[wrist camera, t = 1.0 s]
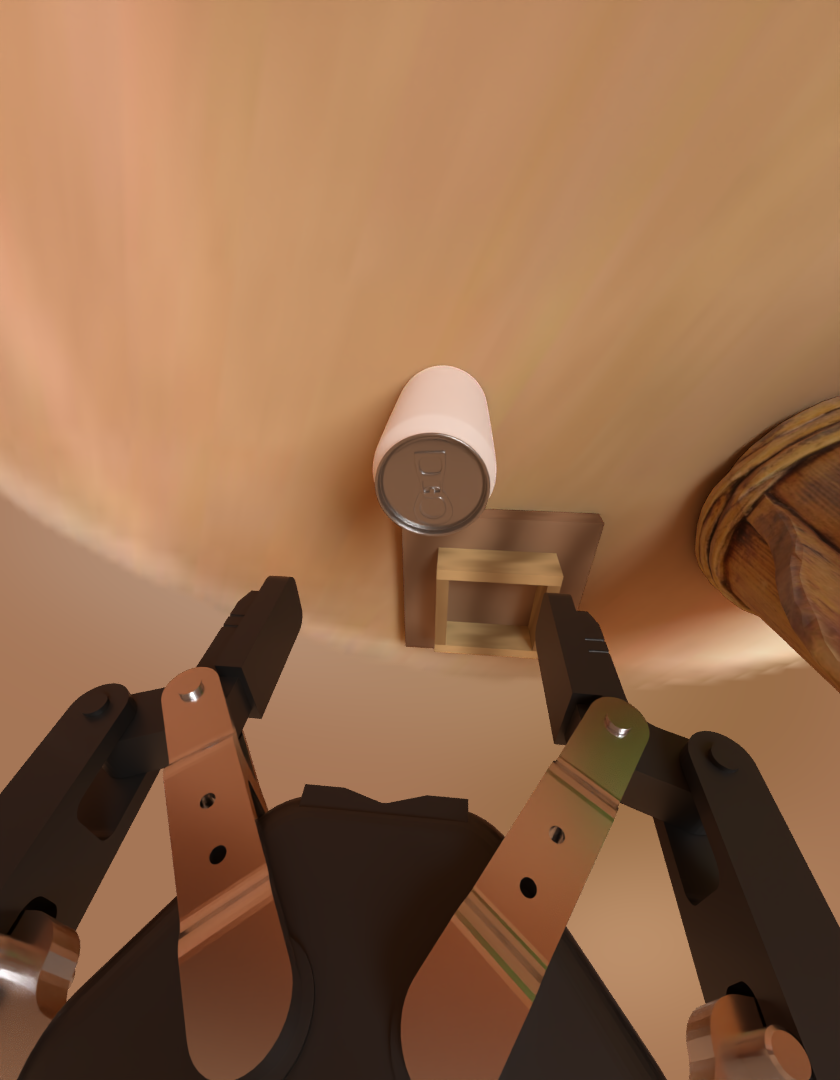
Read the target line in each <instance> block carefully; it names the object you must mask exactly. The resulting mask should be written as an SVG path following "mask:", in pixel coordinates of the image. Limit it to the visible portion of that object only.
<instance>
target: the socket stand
mask: <svg viewBox="0 0 840 1080" xmlns="http://www.w3.org/2000/svg"><path fill="white" fill-rule="evenodd" d="M603 526H604V522H603V520H602V518H601V517H600V515H599V514H592V513H569V512H546V511H523V510H499V509H484V510H483V512H482V513H481V515H480V516H479V517H478V518H477V519H476V520H475V521H474V522H473V523H472V524H471V525H469V526H468V527H466V528H465V529H463V530H461V531H459V532H456V533H453V534H450V535H445V536H423V535H418V534H415V533H412V532H409V531H407V530H405V529H403V528H402V547H403V579H404V611H405V643H406V647H421V648H435V649H434V652H445V653H459V654H474V655H489V656H503V657H518V658H532V659H538V655H537V649H536V643H535V631H536V624H537V620H538V616H539V612H540V607H541V603H542V599H543V595H544V593H546V592H547V593H564V594H570V595H571V596H572V599H573V602H574V605H575V609H576V611H578V608H579V604H580V601H581V598H582V595H583V591H584V588H585V585H586V582H587V578H588V575H589V572H590V569H591V565H592V562H593V559H594V556H595V552H596V549H597V546H598V543H599V539H600V536H601V533H602V530H603Z"/></svg>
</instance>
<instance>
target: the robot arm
mask: <svg viewBox="0 0 840 1080" xmlns="http://www.w3.org/2000/svg"><path fill="white" fill-rule="evenodd" d="M301 624H302V608H301V604H300V599H299V595H298V591H297V586H296V582H295V579H294V578H293V577H282V576H269V577H268V578H267V579H266V580H265V582H264V584H263V585H262V587H261V589H260V590H259V591H251V592H250V593H248V594H247V595H246V596H245V597H243V598H242V599H241V600H240V601H238V603H237V604H236V606H235V608H234V609H233V611H232V612H231V614H230V617H228V618H227V620H226V622H225V623H224V627H222V628H221V630H220V631H219V632H218V634H217V636H216V637H215V639H214V640H213V642H212V643H211V645H210V647H209V648H208V650H207V651H206V653H205V654H204V656H203V658H202V659H201V661H200V662H199V664H198V665H197V667H196V668H192V669H189V670H186V671H184V672H182V673H180V674H179V675H177V676H176V677H175V678H173V679H172V680H171V681H170V682H169V683H168V684H167V686H166V687H165V688H161V689H155V690H151V691H146V692H141V693H136V694H132V695H131V694H130V693H129V691H128V690H127V688H126V687H125V686H123V685H121V684H105V685H102V686H99V687H96V688H94V689H92V690H90V691H88V692H86V693H85V694H83V695H82V696H80V697H79V698H78V699H77V700H76V701H75V702H74V703H73V704H72V705H71V706H70V707H69V708H68V710H67V711H66V712H65V713H64V715H63V716H62V717H61V719H60V720H59V721H58V722H57V723H56V725H55V726H54V727H53V728H52V730H51V731H50V732H49V734H48V735H47V736H46V737H45V738H44V740H43V741H42V742H41V744H40V745H39V746H38V747H37V748H36V750H35V751H34V752H33V753H32V755H31V756H30V757H29V759H28V760H27V761H26V762H25V763H24V765H23V766H22V767H21V769H20V770H19V771H18V772H17V774H16V775H15V776H14V778H13V779H12V780H11V781H10V782H9V784H8V785H7V786H6V787H5V789H4V790H3V791H2V792H1V794H0V1080H667V1079H666V1078H665V1076H664V1074H663V1072H662V1071H661V1069H660V1068H659V1066H658V1064H657V1063H656V1061H655V1060H654V1058H653V1057H652V1055H651V1053H650V1052H649V1050H648V1049H647V1048H646V1046H645V1045H644V1043H643V1042H642V1040H641V1039H640V1037H639V1035H638V1034H637V1032H636V1031H635V1029H634V1028H633V1026H632V1025H631V1023H630V1022H629V1020H628V1019H627V1017H626V1016H625V1014H624V1013H623V1011H622V1010H621V1008H620V1007H619V1006H618V1004H617V1002H616V1001H615V999H614V998H613V996H612V995H611V993H610V992H609V990H608V989H607V987H606V986H605V984H604V983H603V981H602V980H601V978H600V977H599V975H598V974H597V972H596V971H595V969H594V968H593V966H592V965H591V963H590V962H589V960H588V959H587V957H586V956H585V954H584V953H583V951H582V950H581V948H580V947H579V945H578V944H577V942H576V941H575V939H574V938H573V936H572V934H571V933H570V931H569V930H568V929H567V927H566V925H567V922H568V920H569V918H570V916H571V914H572V912H573V909H574V907H575V905H576V903H577V900H578V898H579V896H580V894H581V892H582V889H583V887H584V885H585V883H586V881H587V878H588V876H589V874H590V872H591V869H592V867H593V865H594V863H595V860H596V859H597V856H598V854H599V852H600V849H601V848H602V845H603V843H604V841H605V839H606V837H607V834H608V832H609V830H610V828H611V826H612V823H613V821H614V819H615V816H616V814H617V811H618V805H619V803H622V804H624V805H627V806H629V807H631V808H634V809H636V810H638V811H640V812H643V813H645V814H647V815H650V816H652V817H653V819H654V823H655V827H656V830H657V833H658V837H659V840H660V844H661V848H662V851H663V855H664V858H665V862H666V865H667V869H668V872H669V876H670V879H671V883H672V886H673V890H674V894H675V897H676V901H677V904H678V908H679V911H680V915H681V918H682V922H683V925H684V929H685V932H686V936H687V940H688V943H689V947H690V950H691V954H692V957H693V961H694V964H695V968H696V971H697V975H698V979H699V982H700V985H701V989H702V992H703V996H704V1000H705V1003H706V1004H704V1005H702V1006H700V1007H698V1008H696V1009H695V1010H694V1011H693V1012H692V1014H691V1016H690V1018H689V1020H688V1023H687V1030H686V1042H687V1049H688V1055H689V1065H690V1075H689V1080H840V927H839V925H838V924H837V922H836V920H835V918H834V916H833V914H832V912H831V910H830V908H829V906H828V904H827V902H826V900H825V898H824V896H823V894H822V892H821V891H820V889H819V886H818V885H817V883H816V881H815V879H814V877H813V875H812V873H811V871H810V869H809V867H808V865H807V863H806V861H805V859H804V857H803V855H802V854H801V852H800V850H799V848H798V846H797V844H796V842H795V840H794V838H793V836H792V834H791V832H790V830H789V828H788V826H787V824H786V822H785V820H784V818H783V816H782V815H781V813H780V811H779V809H778V807H777V805H776V803H775V801H774V799H773V797H772V795H771V793H770V791H769V789H768V787H767V785H766V784H765V781H764V779H763V778H762V775H761V774H760V772H759V770H758V768H757V766H756V764H755V762H754V761H753V759H752V758H751V757H750V755H749V754H748V753H747V752H746V751H745V750H744V749H743V748H742V747H741V746H740V745H739V744H737V743H735V742H734V741H733V740H731V739H729V738H728V737H726V736H724V735H721V734H719V733H715V732H711V731H702V732H697V733H695V734H694V735H692V736H691V738H690V739H687V738H685V737H682V736H679V735H676V734H674V733H671V732H668V731H665V730H663V729H660V728H658V727H655V726H653V725H651V724H649V723H648V722H647V721H646V720H645V718H644V717H643V715H642V714H641V713H640V712H639V711H638V710H637V709H636V708H635V707H634V706H632V705H631V704H629V703H628V701H627V699H626V697H625V694H624V691H623V689H622V686H621V683H620V680H619V678H618V675H617V672H616V669H615V667H614V664H613V661H612V659H611V656H610V654H609V650H608V648H607V645H606V642H604V637H603V634H602V631H601V629H600V626H599V624H598V623H597V622H596V621H595V620H594V618H593V617H592V616H591V615H590V614H589V613H588V612H585V611H576V609H575V605H574V602H573V599H572V596H571V595H570V594H564V593H547V592H546V593H544V595H543V599H542V603H541V607H540V612H539V616H538V620H537V624H536V631H535V643H536V649H537V655H538V660H539V665H540V671H541V676H542V681H543V687H544V692H545V697H546V703H547V708H548V713H549V719H550V724H551V730H552V735H553V740H554V744H559V745H566V746H565V747H564V749H563V751H562V752H561V754H560V755H559V757H558V758H557V760H556V761H553V762H552V764H551V765H550V766H549V768H548V769H547V771H546V773H545V774H544V776H543V777H542V779H541V780H540V782H539V784H538V785H537V787H536V789H535V790H534V792H533V793H532V795H531V796H530V798H529V800H528V801H527V803H526V804H525V806H524V808H523V809H522V811H521V812H520V814H519V816H518V817H517V819H516V820H515V822H514V823H513V825H512V827H511V828H510V830H509V832H508V833H507V835H506V836H505V837H504V835H503V834H501V833H500V832H499V831H498V830H497V829H496V828H495V827H494V826H493V825H491V824H490V823H489V822H487V821H486V820H484V819H482V818H481V817H479V816H477V815H475V814H473V813H470V812H468V799H460V798H449V797H439V796H438V797H437V796H428V795H427V796H422V797H417V798H412V799H406V800H401V801H396V802H391V803H381V802H378V801H376V800H373V799H370V798H368V797H366V796H363V795H361V794H358V793H356V792H354V791H351V790H349V789H346V788H341V787H331V786H330V787H329V786H320V785H308V784H306V785H305V787H304V791H303V794H302V797H299V798H295V799H292V800H289V801H286V802H284V803H282V804H280V805H278V806H276V807H274V808H273V809H271V810H269V811H268V808H267V805H266V802H265V799H264V797H263V794H262V791H261V788H260V786H259V782H258V779H257V775H256V772H255V768H254V765H253V762H252V758H251V755H250V751H249V748H248V745H247V741H246V738H245V734H244V731H243V727H244V725H245V723H246V721H247V719H248V718H259V719H261V718H262V716H263V714H264V712H265V709H266V707H267V704H268V702H269V700H270V697H271V695H272V693H273V691H274V689H275V686H276V684H277V682H278V679H279V677H280V675H281V672H282V670H283V668H284V665H285V663H286V661H287V658H288V656H289V654H290V651H291V649H292V647H293V644H294V642H295V640H296V638H297V635H298V633H299V631H300V628H301ZM162 768H164V770H163V780H164V789H165V797H166V806H167V815H168V823H169V832H170V840H171V849H172V858H173V867H174V875H175V885H176V893H177V896H176V897H175V898H174V899H173V900H172V901H171V902H170V903H169V904H168V905H167V906H166V907H165V908H164V909H162V910H161V911H160V912H159V913H158V914H157V915H156V916H155V917H154V918H153V919H152V920H151V921H150V922H149V923H148V924H147V925H146V926H145V927H144V928H143V929H141V931H140V932H138V933H137V934H136V935H135V936H134V937H133V938H132V939H131V940H130V941H129V942H128V943H127V944H126V945H125V946H124V947H123V948H122V949H121V950H119V951H118V952H117V953H116V954H115V955H114V956H113V957H112V958H111V959H110V960H109V961H108V962H107V963H106V964H105V965H104V966H103V967H102V968H101V969H100V970H99V971H97V972H96V973H95V974H94V975H93V976H92V977H91V978H90V979H89V980H88V981H87V982H86V983H85V984H84V985H83V986H82V987H81V988H80V989H79V990H78V991H77V992H76V993H75V994H74V995H73V996H72V997H71V998H70V999H69V1000H68V1001H67V1000H66V999H67V992H68V989H69V987H70V986H71V984H72V982H73V979H74V976H75V968H76V965H77V962H78V958H79V954H80V939H79V936H78V934H77V932H76V929H77V927H78V925H79V923H80V921H81V919H82V918H83V916H84V914H85V912H86V910H87V908H88V906H89V904H90V902H91V900H92V898H93V897H94V894H95V893H96V891H97V889H98V887H99V885H100V883H101V881H102V879H103V878H104V875H105V874H106V872H107V870H108V868H109V866H110V864H111V862H112V860H113V859H114V857H115V855H116V853H117V851H118V849H119V847H120V845H121V843H122V841H123V839H124V838H125V836H126V834H127V832H128V830H129V828H130V826H131V824H132V822H133V820H134V819H135V817H136V815H137V813H138V811H139V809H140V807H141V805H142V803H143V801H144V799H145V798H146V796H147V794H148V792H149V790H150V788H151V786H152V784H153V782H154V781H155V778H156V777H157V775H158V773H159V771H160V769H162Z"/></svg>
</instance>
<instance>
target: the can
mask: <svg viewBox="0 0 840 1080" xmlns="http://www.w3.org/2000/svg"><path fill="white" fill-rule="evenodd" d="M496 470H497V468H496V457H495V449H494V443H493V436H492V430H491V423H490V417H489V411H488V406H487V401H486V398H485V395H484V392H483V390H482V388H481V387H480V385H479V384H478V382H477V381H476V380H475V379H474V378H473V377H472V376H471V375H469V374H468V373H467V372H465V371H463V370H461V369H459V368H456V367H452V366H434V367H430V368H427V369H424V370H422V371H420V372H419V373H417V374H416V375H414V376H413V377H412V378H411V379H410V380H409V381H408V382H407V384H406V385H405V387H404V388H403V390H402V392H401V394H400V396H399V398H398V400H397V402H396V404H395V407H394V409H393V411H392V413H391V415H390V418H389V420H388V422H387V424H386V427H385V429H384V431H383V434H382V436H381V438H380V441H379V443H378V446H377V448H376V451H375V455H374V460H373V478H374V483H375V491H376V496H377V499H378V501H379V504H380V506H381V508H382V509H383V511H384V512H385V513H386V515H387V516H388V517H389V518H390V519H391V520H392V521H393V522H394V523H396V524H397V525H398V526H400V527H401V528H403V529H405V530H407V531H409V532H412V533H415V534H418V535H423V536H445V535H450V534H453V533H456V532H459V531H461V530H463V529H465V528H466V527H468V526H469V525H471V524H472V523H473V522H474V521H475V520H476V519H477V518H478V517H479V516H480V515H481V513H482V512H483V510H484V509H485V507H486V505H487V502H488V499H489V497H490V495H491V493H492V491H493V488H494V485H495V481H496Z"/></svg>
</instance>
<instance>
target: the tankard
mask: <svg viewBox="0 0 840 1080" xmlns="http://www.w3.org/2000/svg"><path fill="white" fill-rule="evenodd" d="M695 554H696V558H697V561H698V565H699V567H700V569H701V570H702V572H703V574H704V575H705V576H706V577H707V578H708V580H709V582H710V583H711V584H712V585H713V586H714V587H715V588H716V589H718V590H719V591H720V592H721V593H722V594H723V596H724V597H726V598H727V599H728V600H730V601H731V602H732V603H734V604H735V605H736V606H738V607H739V608H741V609H742V610H744V611H747V612H749V613H752V614H754V615H757V616H759V617H760V618H761V619H762V620H763V621H764V622H765V623H766V624H767V625H768V626H770V627H771V628H772V629H773V630H774V631H775V632H776V633H777V634H778V635H779V636H780V637H781V638H782V639H783V640H784V641H786V642H787V643H788V644H789V645H790V646H791V647H792V648H793V649H794V650H795V651H796V652H797V653H798V654H799V655H800V656H801V657H802V658H803V659H804V660H805V661H807V662H808V663H809V664H810V665H811V666H812V667H813V668H814V669H815V670H816V671H817V672H818V673H819V674H820V675H821V676H822V677H823V678H824V679H825V680H826V681H828V682H829V683H830V684H831V685H832V686H833V687H834V688H835V689H836V690H837V691H838V692H839V693H840V396H838V397H835V398H832V399H829V400H826V401H823V402H821V403H819V404H817V405H815V406H812V407H810V408H808V409H806V410H804V411H802V412H800V413H798V414H797V415H795V416H793V417H791V418H789V419H788V420H786V421H784V422H782V423H781V424H780V425H778V426H777V427H775V428H774V429H773V430H771V431H770V432H769V433H767V434H766V435H765V436H764V437H762V438H761V439H760V440H759V441H757V442H756V443H755V444H754V445H753V446H751V447H750V448H749V449H748V450H747V451H746V452H745V453H744V454H743V455H742V456H741V457H740V459H739V460H738V461H737V462H736V463H735V465H734V466H733V467H732V469H731V470H730V471H729V473H728V474H727V475H726V476H725V477H724V478H723V479H722V480H721V481H720V482H719V483H718V484H717V485H716V486H715V487H714V488H713V490H712V491H711V493H710V494H709V496H708V498H707V500H706V502H705V503H704V505H703V507H702V510H701V514H700V517H699V520H698V524H697V533H696V541H695Z"/></svg>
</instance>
